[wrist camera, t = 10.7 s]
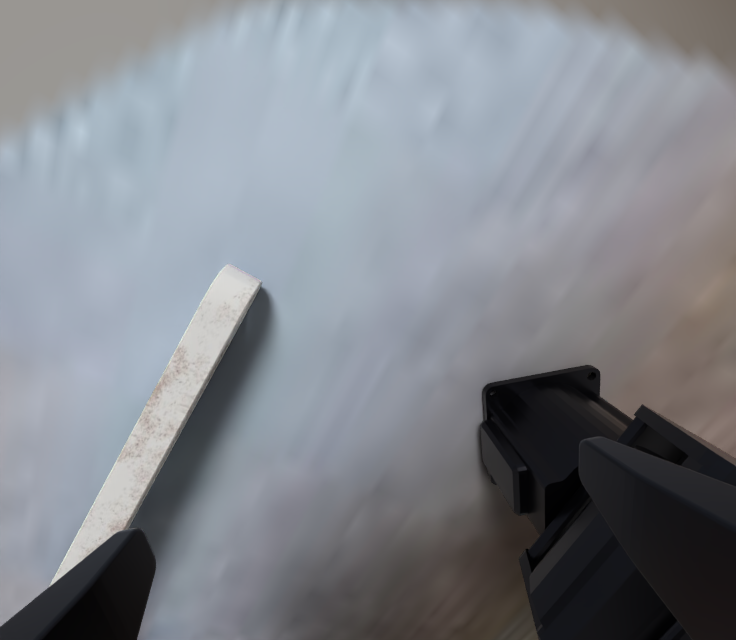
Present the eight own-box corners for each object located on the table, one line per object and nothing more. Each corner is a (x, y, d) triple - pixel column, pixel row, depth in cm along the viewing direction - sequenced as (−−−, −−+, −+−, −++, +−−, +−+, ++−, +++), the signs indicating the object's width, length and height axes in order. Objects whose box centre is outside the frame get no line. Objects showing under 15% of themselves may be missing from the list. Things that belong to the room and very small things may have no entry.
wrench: (271, 276, 21) (41, 695, 24) (241, 259, 21) (9, 687, 23) (252, 292, 13) (-90, 916, 16) (202, 266, 13) (-141, 911, 15)
